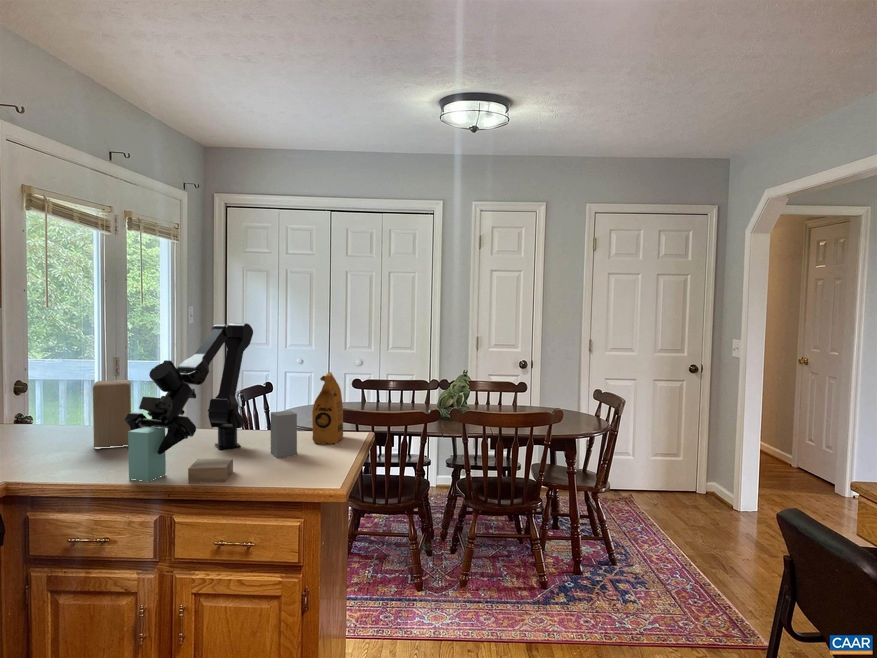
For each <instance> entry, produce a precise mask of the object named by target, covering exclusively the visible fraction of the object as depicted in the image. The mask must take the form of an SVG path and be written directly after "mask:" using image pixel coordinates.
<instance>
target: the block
mask: <svg viewBox="0 0 877 658" xmlns="http://www.w3.org/2000/svg"><path fill="white" fill-rule="evenodd" d="M131 384H132V383H131V380H129V379H113V380H111V379H110V380H97V381H95V382H94V384H93V387H92V413H93V414H92V415H93V416H92V419H93V420H92V422H93V428H92V429H93V448H94V447H110V446H123V445H128V431H131V429H130V426H129V425H128V424H127V423H126V422H125V421H124V419H125V418H126V416H127V415H128V413H132V394H131V393H132V390H131V389H132V387H131V386H132V385H131Z"/></svg>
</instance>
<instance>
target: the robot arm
mask: <svg viewBox="0 0 877 658" xmlns="http://www.w3.org/2000/svg"><path fill="white" fill-rule="evenodd" d="M253 335H254V329H253V327H252V326H251V325H250V324H249V323H246V322H245V323H243V322H240V323H239V322H230V323H228V324H222V323H221V324H220V323H217V324H214V325H213V326H212V328H211V331H210V333H209V334H208V335H207V337H206V338H205V340H204V341H203V342H202V344H201V345H200V346H199V348H198V349H197V350H196V352H194V354H193V355H192V356H191V357H188V358H187V359H185V360H183V361H182V362H181V363H180V364H179V365H178V366H177V367H176V366H175V364H174V362H173V361H172V360H170V359H169V360H165V359H164V360H163V362H162V363H159V364H157V365H156V366H154V367H153V368H151V369H150V371H149V373H148V375H149V377H150V379H151V380H152V381H153V383H154V384H155V385H156V386H157V388H159V389H160V391H162V393H163V392H164V393H166V394H165V395H161V397H154V396H142V397H141V401H140V403H139V406H138V409H139V410H144V411H147V413H146V414H147V415H148V416H149V417H151V418H147V416H146V415H145V414H144V413H142V412H131V413H128V415H127V416H126V418H125V419H124V421H125V422H126V423H127V424H128V425H129V426H130V429H131V430H135V429H139V428H142V427H158V428H165V429H167V431H166V432H167V433H165V438H164V440H163V441H162V443H161V445H160V447H159V449H158V452H157V453H158V454H159V455H161V454H162V453H164V452H165V453H166V452H167V451H168V450H169V449H170V448H172V447H174V446H176V445H177V444H179V443H180V442H181V441H184V440H188V439H189V437H194V436H195V433H196V431H197V427H196V425H195V424H194V422H193V421H192V420H191V419H190V418H189V417H188V416H186V415H185V416H183V415H184V414H185V412H186V411H184V408H185V406H186V404H187V403H188V401H189V400H190V399H196V398H197V394H196V390H195V388H192V387H191V386H190V385H193V386H199V385H202V384H203V383H204V382H205V381H206V379H207V377H208V375H209V373H210V367H209V366H210V364H211V363H212V361H213V359H214V358H215V356H216V355H217V354H218V352H219V351H220V349H221V348H222V347H223V345H225V347H226V354H225V359H224V364H223V370H222V374H221V375H222V376H221V381H220V383H219V384H220V386H219V391H218V394H217V395H216V396H215V397H213V398H211V399H210V400H209V406H208V409H207V412H208V414H207V415H208V416H207V417H208V420H209V424H210V426H211V428H217V442H216V443H214V446H215V447H216V448H217V449H218V450H228V449H235V448H236V449H237V448H240V447H241V446H242V445H241V444H240V443H239V442H238V429H242V428H243V427H244V424H245V418H244V417H243V416H242V415H241V413H240V412H239V409H240V405H239V402H238V399H237V397H236V395H237V388H238V384H239V378H240V372H241V367H242V361H243V356H244V351H246V349H248V347H249V346H250V345H251V342H252V338H253ZM127 451H128V448H127Z"/></svg>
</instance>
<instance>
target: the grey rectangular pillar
mask: <svg viewBox="0 0 877 658" xmlns="http://www.w3.org/2000/svg"><path fill="white" fill-rule="evenodd" d="M270 454H271V455H272V456H273V455H274V456H273V457H275V459H282V458H281V457H283V458H288V457H287V456H290V457H295V456H294V455H297V456H298V414H297V413H296V412H294V411H292V410H283V411H282V410H281V411H280V410H279V411H271V412H270Z"/></svg>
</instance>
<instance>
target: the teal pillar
mask: <svg viewBox="0 0 877 658" xmlns="http://www.w3.org/2000/svg"><path fill="white" fill-rule="evenodd" d="M165 436H166V428H161V427H142V428H139V429H135V430H131V431H128V447H127V449H128V450H127V451H128V480H129V479H136V480H142V481H150V482H152V481H151V480H153V479H155V478H158V477H160V476H163V475H165V474H166V475H167V470H166V469H167V467H166V465H167V464H166V462H167V461H166V460H167V459H166V451H165V452H164V453H162V454H161V455H159V454H158V453H157V452H158V449H159V447H160V445H161V443H162V441H163V440H164V438H165ZM163 477H164V476H163ZM158 479H159V478H158ZM155 480H156V479H155ZM153 481H154V480H153Z"/></svg>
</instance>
